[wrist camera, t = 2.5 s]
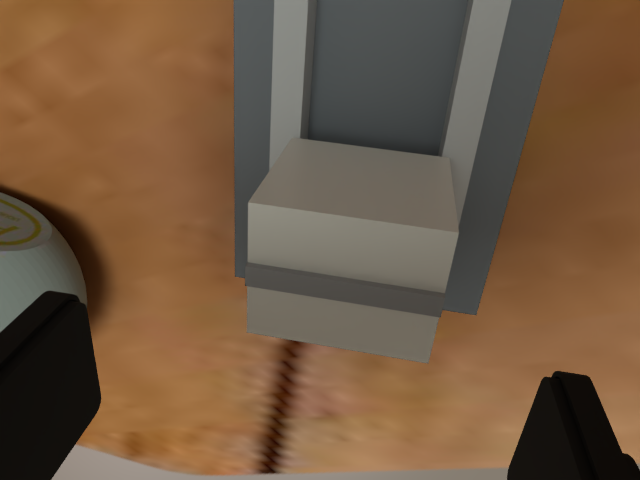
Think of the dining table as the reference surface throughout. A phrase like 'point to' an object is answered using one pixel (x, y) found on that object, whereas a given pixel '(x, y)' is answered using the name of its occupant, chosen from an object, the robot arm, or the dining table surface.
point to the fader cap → (351, 248)
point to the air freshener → (32, 260)
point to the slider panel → (395, 98)
